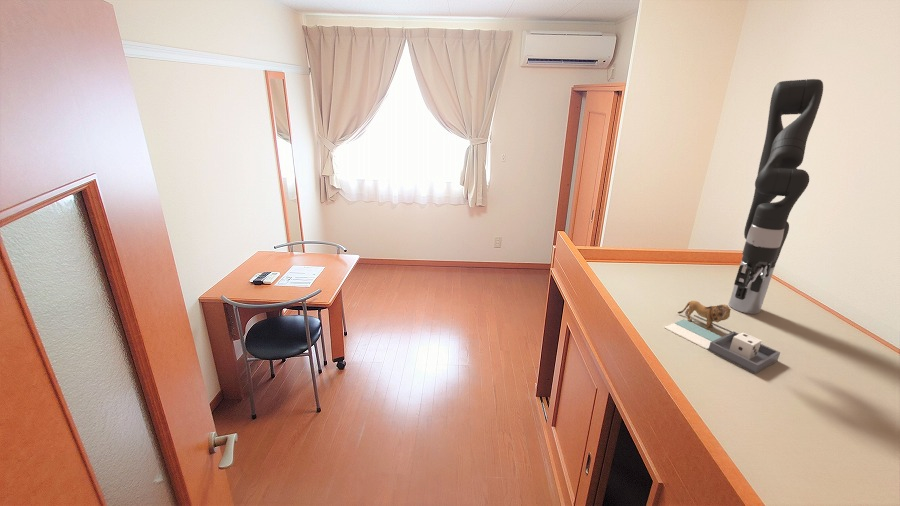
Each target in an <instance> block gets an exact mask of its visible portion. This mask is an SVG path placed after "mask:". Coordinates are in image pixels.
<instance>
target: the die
mask: <svg viewBox="0 0 900 506" xmlns="http://www.w3.org/2000/svg"><path fill="white" fill-rule="evenodd" d="M762 341H763V340H762V339H760V338H757V337H755V336H753V335H750V334H748V333H745V332H743V331H742V332H740V333H738V335H736V336H734V337H733V340H732V343H731V346H730V351H732V352H734V353H736V354H738V355H740V356H742V357H744V358H747V359H749V360H750V359H752V358H753V357H755V356H757V353H758V350H759V347H760V344H762Z"/></svg>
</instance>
